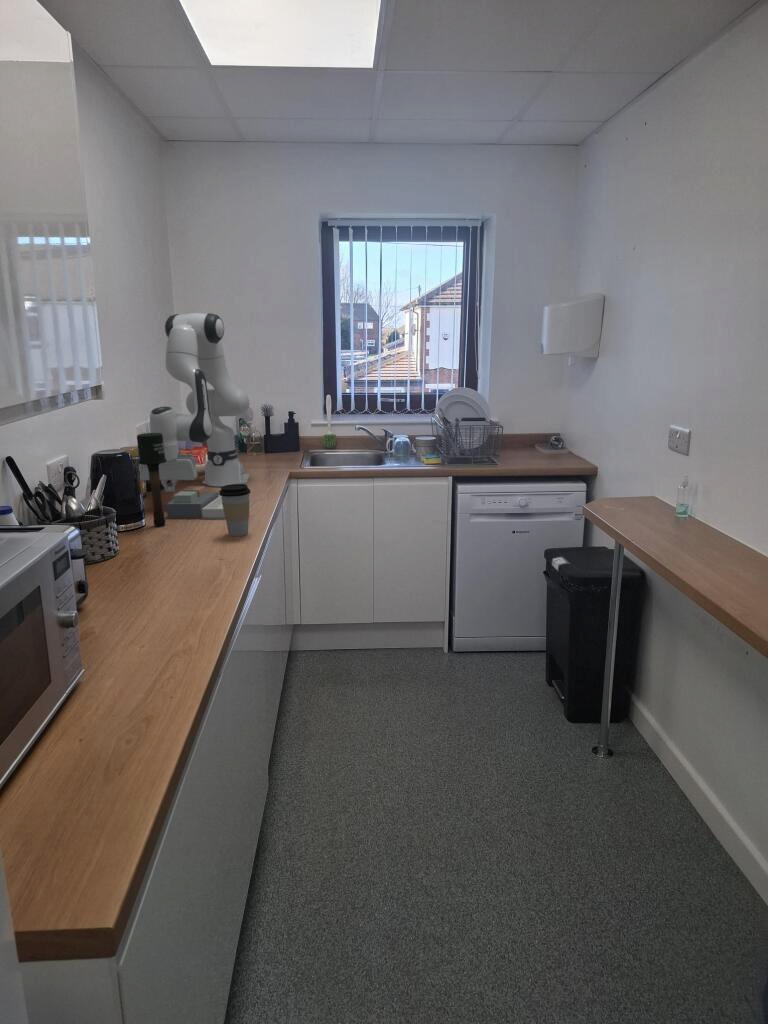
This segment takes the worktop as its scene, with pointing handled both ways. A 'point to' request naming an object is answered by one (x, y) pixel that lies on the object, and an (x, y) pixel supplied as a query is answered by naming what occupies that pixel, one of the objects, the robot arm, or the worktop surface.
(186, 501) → the tile
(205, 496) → the dark grey slab
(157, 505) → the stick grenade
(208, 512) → the box
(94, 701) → the worktop surface
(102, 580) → the worktop surface
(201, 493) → the tile
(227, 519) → the coffee cup
